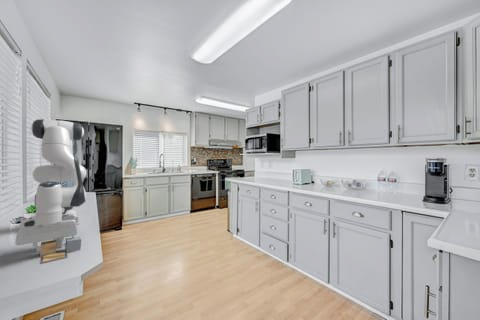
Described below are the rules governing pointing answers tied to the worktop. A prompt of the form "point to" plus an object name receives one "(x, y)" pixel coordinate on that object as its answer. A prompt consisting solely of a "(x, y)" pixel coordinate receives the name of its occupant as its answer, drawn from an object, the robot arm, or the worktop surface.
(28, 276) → the worktop surface
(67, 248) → the slate cube
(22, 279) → the worktop surface
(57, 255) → the tile
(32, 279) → the worktop surface
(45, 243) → the oak cube
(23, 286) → the worktop surface
